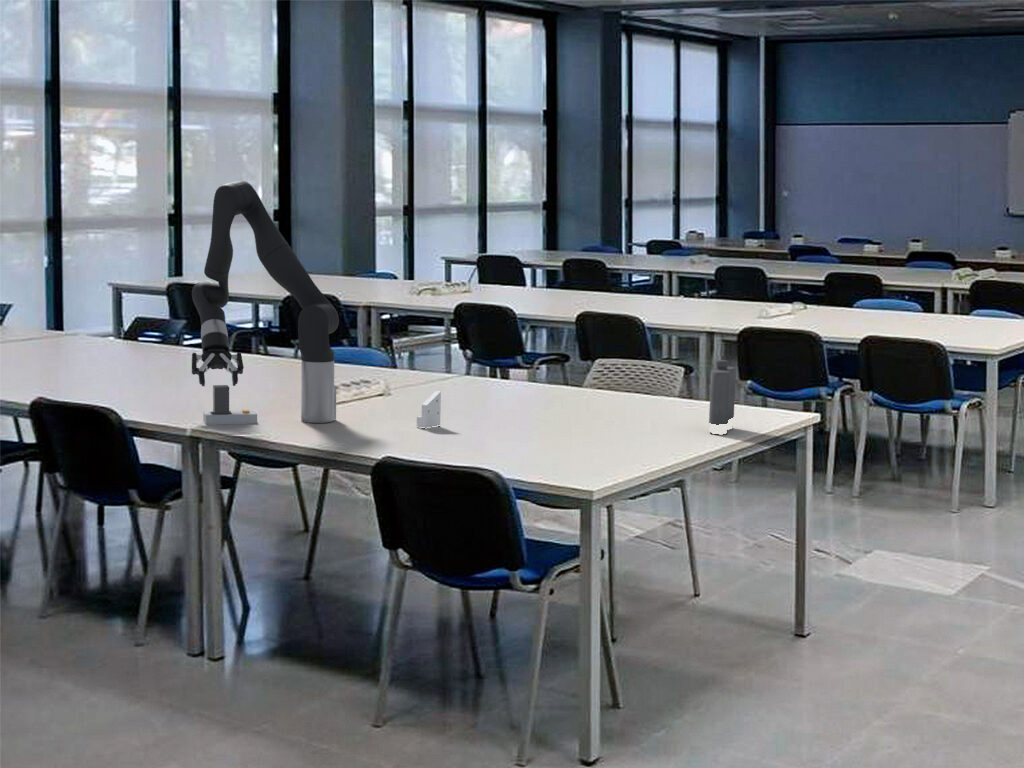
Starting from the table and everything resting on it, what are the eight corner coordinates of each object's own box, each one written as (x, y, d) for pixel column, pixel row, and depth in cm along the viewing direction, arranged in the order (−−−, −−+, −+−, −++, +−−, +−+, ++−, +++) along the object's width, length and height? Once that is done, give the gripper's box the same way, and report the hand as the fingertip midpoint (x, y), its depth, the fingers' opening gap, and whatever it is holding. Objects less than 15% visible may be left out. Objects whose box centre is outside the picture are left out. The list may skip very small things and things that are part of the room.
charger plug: (227, 420, 423) (227, 385, 422) (229, 422, 420) (229, 387, 418) (213, 420, 422) (212, 385, 421) (214, 423, 418) (214, 387, 417)
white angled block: (450, 416, 427) (440, 391, 423) (429, 437, 421) (419, 412, 417) (441, 415, 430) (431, 390, 425) (420, 436, 424) (409, 411, 419)
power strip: (253, 420, 427) (253, 408, 427) (257, 424, 420) (257, 412, 420) (203, 422, 423) (203, 409, 422) (205, 426, 416) (205, 413, 416)
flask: (714, 426, 436) (717, 357, 433) (734, 427, 434) (737, 358, 432) (705, 434, 422) (707, 363, 419) (725, 435, 420) (728, 364, 418)
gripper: (190, 330, 428) (194, 376, 419) (241, 330, 433) (245, 376, 423) (188, 347, 434) (192, 392, 425) (238, 346, 438) (243, 392, 429)
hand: (219, 384), depth 424 cm, fingers open, 8 cm apart
